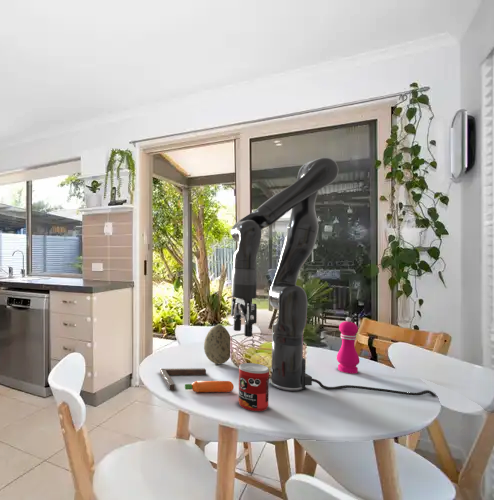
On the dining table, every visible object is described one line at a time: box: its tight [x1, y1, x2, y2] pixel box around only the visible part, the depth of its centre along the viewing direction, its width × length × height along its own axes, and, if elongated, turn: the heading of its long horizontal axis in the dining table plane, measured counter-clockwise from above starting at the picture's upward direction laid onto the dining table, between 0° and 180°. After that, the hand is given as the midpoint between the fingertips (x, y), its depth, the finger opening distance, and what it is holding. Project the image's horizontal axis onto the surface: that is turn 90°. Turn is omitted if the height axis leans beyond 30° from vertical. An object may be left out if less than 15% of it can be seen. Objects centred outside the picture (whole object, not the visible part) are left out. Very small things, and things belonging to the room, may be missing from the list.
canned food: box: [238, 362, 270, 412], centre depth 105 cm, size 8×8×11 cm
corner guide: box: [159, 367, 207, 391], centre depth 124 cm, size 16×16×2 cm
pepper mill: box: [336, 316, 360, 375], centre depth 139 cm, size 7×7×20 cm
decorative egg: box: [203, 324, 231, 365], centre depth 145 cm, size 11×11×15 cm
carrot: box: [184, 380, 235, 393], centre depth 115 cm, size 15×3×3 cm, turn 95°
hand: (242, 333), depth 119 cm, fingers open, 8 cm apart
